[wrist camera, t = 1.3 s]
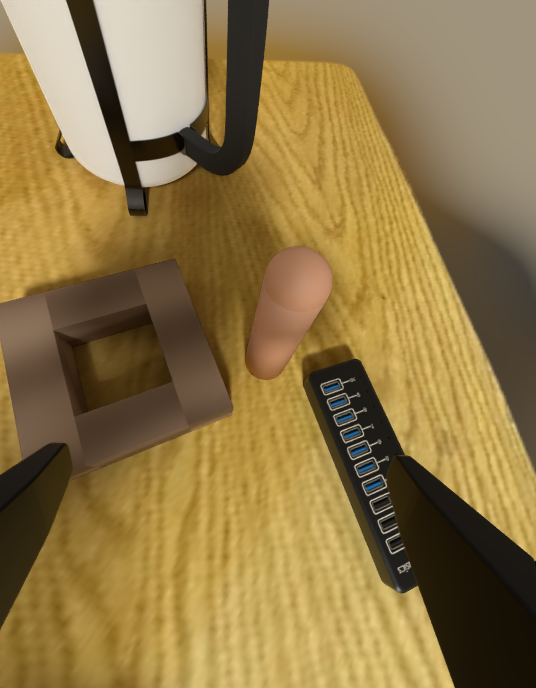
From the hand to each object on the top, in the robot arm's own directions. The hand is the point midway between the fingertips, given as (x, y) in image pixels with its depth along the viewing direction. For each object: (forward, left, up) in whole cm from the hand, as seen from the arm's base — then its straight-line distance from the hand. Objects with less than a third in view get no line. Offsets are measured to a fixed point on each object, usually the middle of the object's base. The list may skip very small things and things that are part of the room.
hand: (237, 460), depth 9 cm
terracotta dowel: (+6, -6, -15) cm, 17 cm away
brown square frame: (+9, +4, -15) cm, 18 cm away
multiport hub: (-4, -9, -15) cm, 18 cm away
